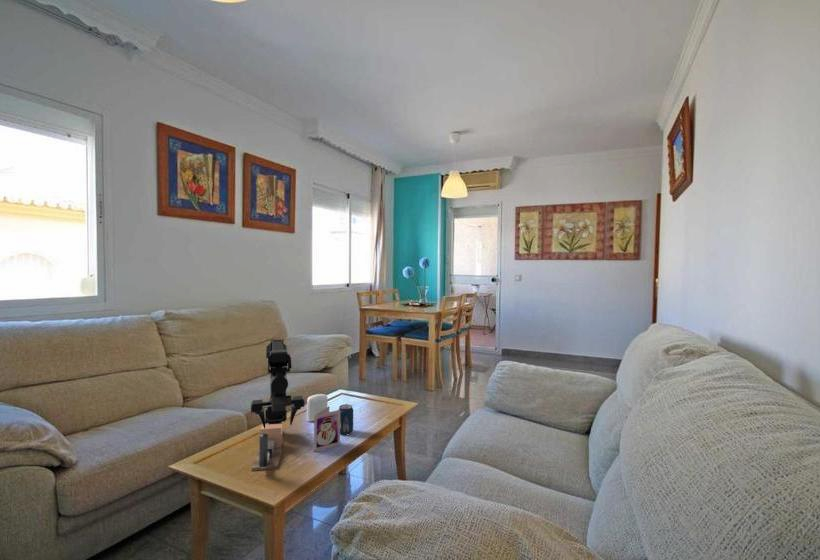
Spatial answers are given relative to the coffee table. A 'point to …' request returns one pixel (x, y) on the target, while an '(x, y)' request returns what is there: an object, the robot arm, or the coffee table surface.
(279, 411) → the robot arm
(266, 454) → the black handled metal tool
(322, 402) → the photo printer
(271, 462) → the base board
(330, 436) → the greeting card
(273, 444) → the grey rectangular block
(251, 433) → the coffee table surface
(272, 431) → the socket
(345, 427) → the soda can
